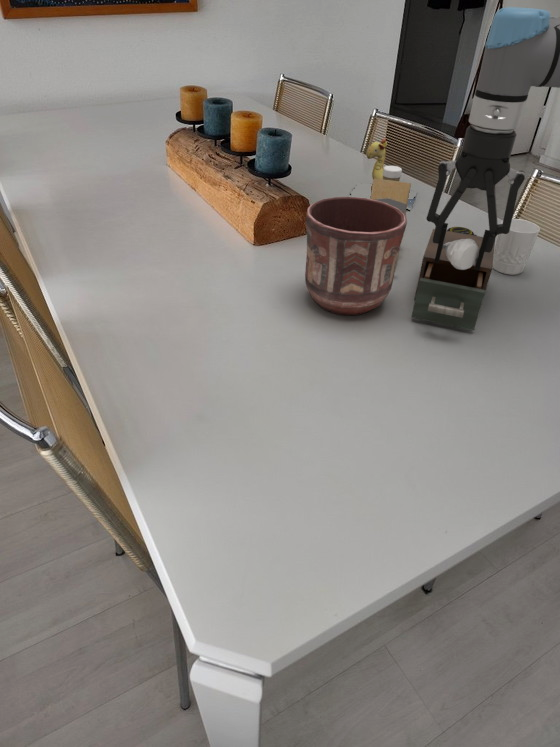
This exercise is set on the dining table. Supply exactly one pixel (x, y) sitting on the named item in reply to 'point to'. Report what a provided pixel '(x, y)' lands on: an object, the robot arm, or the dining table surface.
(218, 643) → the dining table surface
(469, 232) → the tape measure
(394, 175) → the sprinkles bottle
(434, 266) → the drawer
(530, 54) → the robot arm
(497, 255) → the white cup
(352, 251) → the pottery
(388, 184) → the sandwich container
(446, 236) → the cabinet
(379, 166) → the stuffed giraffe
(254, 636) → the dining table surface
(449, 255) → the garlic bulb
